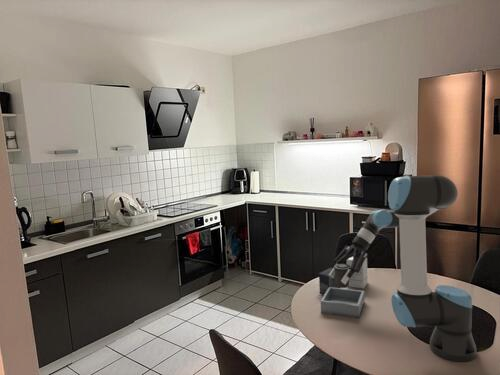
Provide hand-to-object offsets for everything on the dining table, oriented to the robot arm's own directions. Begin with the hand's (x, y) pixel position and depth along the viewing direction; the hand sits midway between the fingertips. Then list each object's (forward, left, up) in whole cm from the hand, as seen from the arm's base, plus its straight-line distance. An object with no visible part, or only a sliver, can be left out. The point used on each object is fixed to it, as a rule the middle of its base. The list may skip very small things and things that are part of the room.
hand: (336, 279), depth 175 cm
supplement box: (+31, -4, -14) cm, 35 cm away
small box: (+19, +8, -14) cm, 25 cm away
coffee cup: (+3, -2, -4) cm, 5 cm away
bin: (+2, -2, -14) cm, 15 cm away
